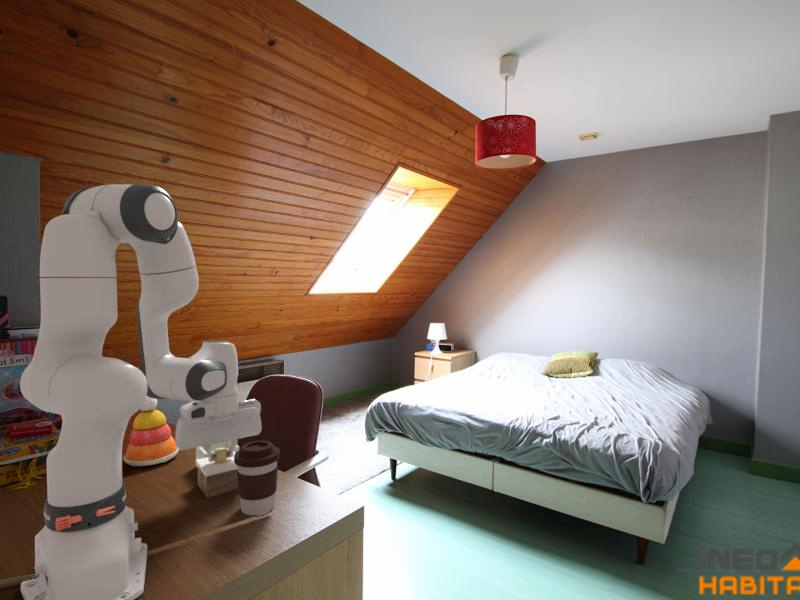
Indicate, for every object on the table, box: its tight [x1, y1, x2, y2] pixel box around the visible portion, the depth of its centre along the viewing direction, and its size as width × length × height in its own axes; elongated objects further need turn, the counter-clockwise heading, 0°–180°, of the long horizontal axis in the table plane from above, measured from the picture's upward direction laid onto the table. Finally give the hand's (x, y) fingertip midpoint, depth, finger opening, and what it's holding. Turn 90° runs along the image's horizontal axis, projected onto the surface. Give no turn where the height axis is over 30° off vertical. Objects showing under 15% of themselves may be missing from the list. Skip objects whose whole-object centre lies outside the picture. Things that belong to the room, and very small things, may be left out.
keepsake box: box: [196, 466, 238, 499], centre depth 113 cm, size 9×9×6 cm
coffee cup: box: [234, 440, 281, 518], centre depth 102 cm, size 10×10×15 cm
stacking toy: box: [123, 395, 180, 467], centre depth 132 cm, size 14×14×20 cm
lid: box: [195, 447, 238, 477], centre depth 113 cm, size 10×10×5 cm
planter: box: [195, 441, 240, 468], centre depth 124 cm, size 9×9×7 cm
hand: (220, 458), depth 113 cm, fingers closed on lid, 3 cm apart
